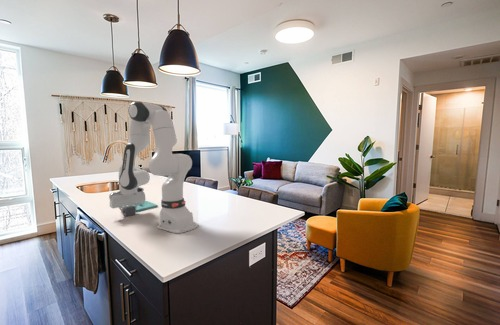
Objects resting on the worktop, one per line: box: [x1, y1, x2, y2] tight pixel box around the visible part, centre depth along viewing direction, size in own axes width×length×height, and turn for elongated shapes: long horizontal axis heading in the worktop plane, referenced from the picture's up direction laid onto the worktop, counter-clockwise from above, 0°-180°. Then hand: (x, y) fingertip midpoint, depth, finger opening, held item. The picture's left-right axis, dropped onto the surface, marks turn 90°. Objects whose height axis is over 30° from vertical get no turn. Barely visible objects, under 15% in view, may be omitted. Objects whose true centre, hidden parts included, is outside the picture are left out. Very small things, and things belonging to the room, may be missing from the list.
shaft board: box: [128, 200, 159, 212], centre depth 161 cm, size 16×16×4 cm
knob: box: [121, 205, 136, 217], centre depth 145 cm, size 6×6×5 cm
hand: (128, 211), depth 145 cm, fingers closed on knob, 6 cm apart
